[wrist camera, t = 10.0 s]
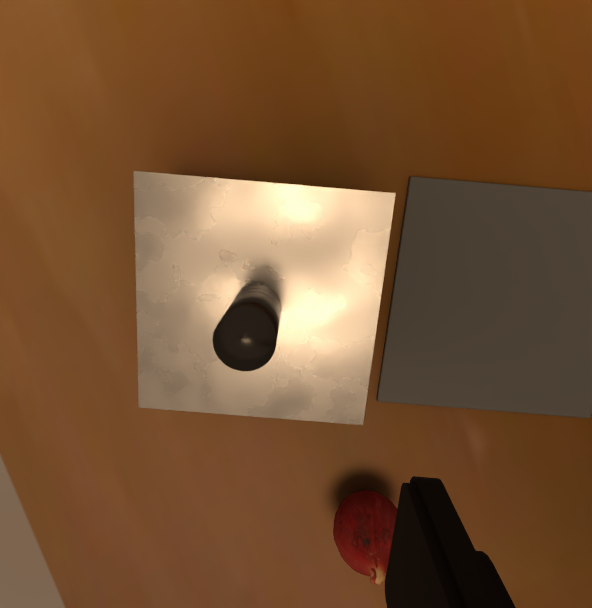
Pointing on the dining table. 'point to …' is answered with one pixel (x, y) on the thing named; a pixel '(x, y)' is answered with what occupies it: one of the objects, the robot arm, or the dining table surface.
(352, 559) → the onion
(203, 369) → the lid
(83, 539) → the dining table surface
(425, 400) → the mat
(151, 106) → the dining table surface
